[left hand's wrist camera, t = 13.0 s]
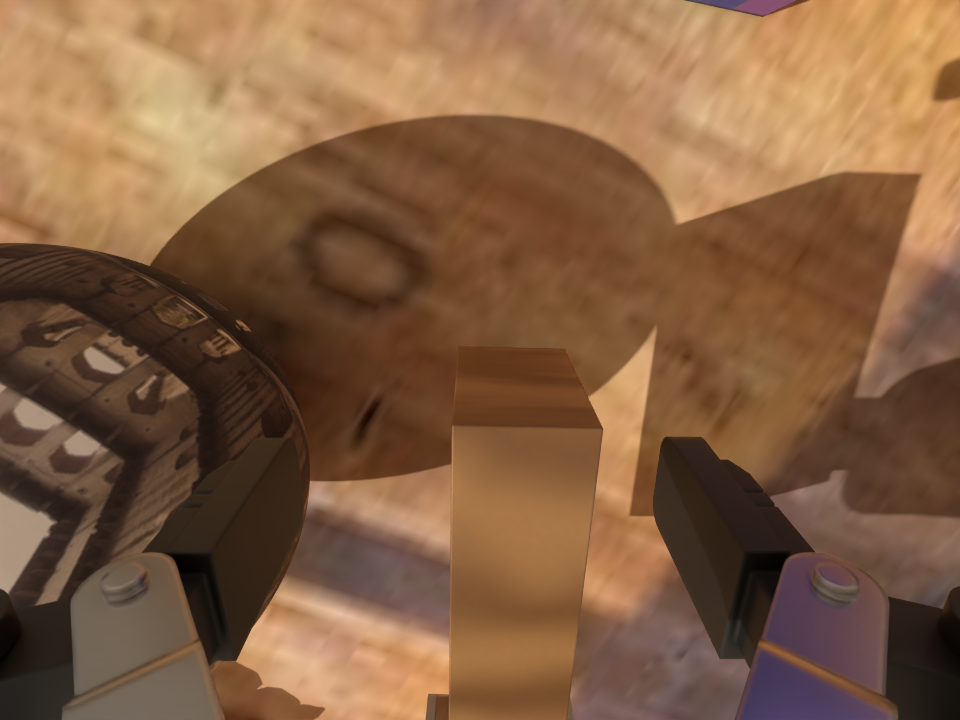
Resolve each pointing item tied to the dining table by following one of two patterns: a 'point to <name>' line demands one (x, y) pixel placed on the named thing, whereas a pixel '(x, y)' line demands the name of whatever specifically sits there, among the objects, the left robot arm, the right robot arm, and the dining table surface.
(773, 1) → the cereal box
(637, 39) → the dining table surface
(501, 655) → the bar
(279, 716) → the dining table surface
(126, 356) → the sphere
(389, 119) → the dining table surface
